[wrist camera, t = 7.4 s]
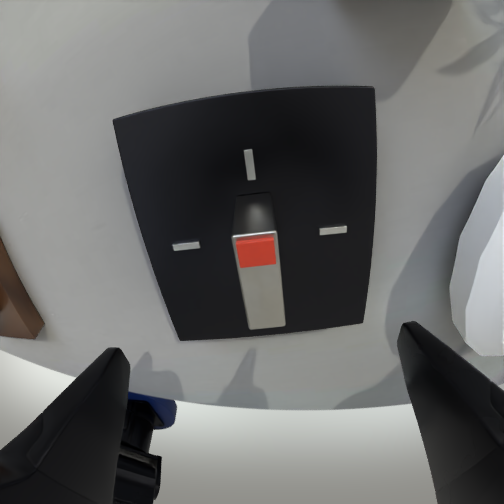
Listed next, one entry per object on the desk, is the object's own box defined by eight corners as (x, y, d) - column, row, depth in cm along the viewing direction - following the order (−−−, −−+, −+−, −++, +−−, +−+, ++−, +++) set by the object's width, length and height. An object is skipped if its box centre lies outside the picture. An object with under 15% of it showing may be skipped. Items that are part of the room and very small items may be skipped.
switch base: (351, 294, 21) (364, 325, 18) (186, 311, 22) (179, 343, 19) (354, 85, 14) (376, 86, 11) (134, 112, 14) (110, 120, 12)
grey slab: (279, 273, 16) (286, 330, 12) (249, 277, 16) (248, 334, 13) (270, 191, 14) (277, 234, 10) (236, 195, 14) (230, 239, 10)
